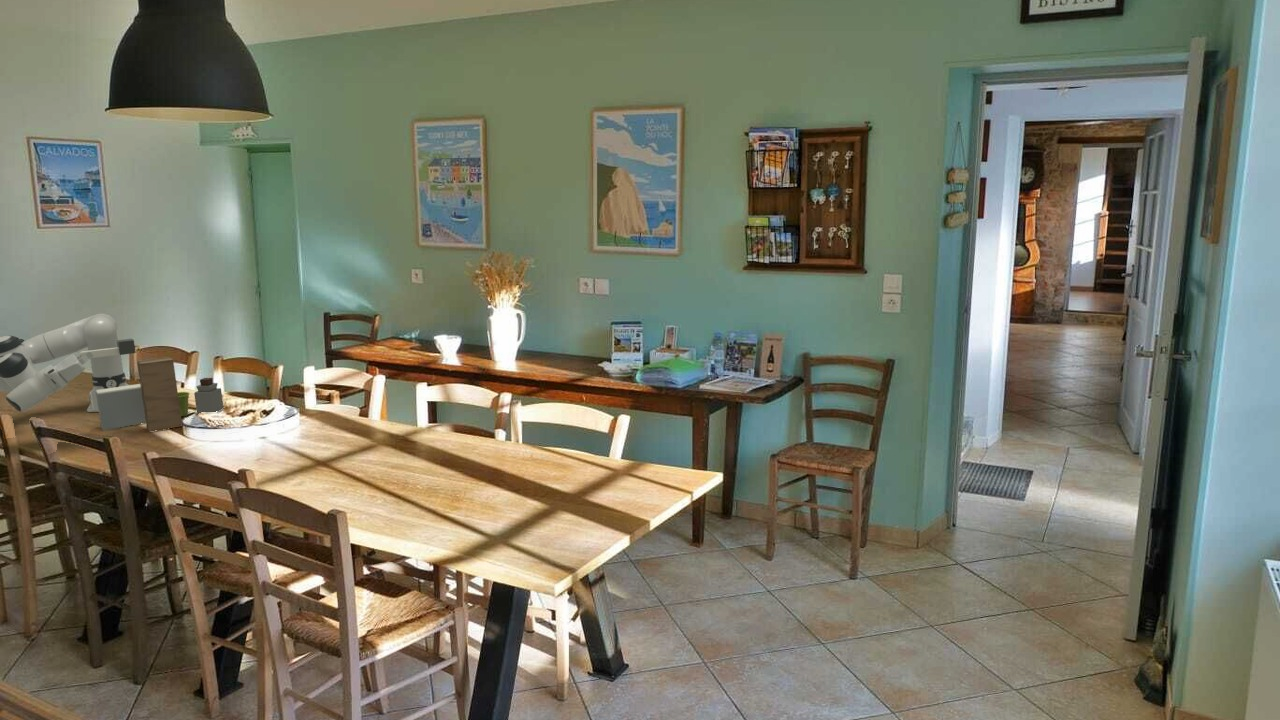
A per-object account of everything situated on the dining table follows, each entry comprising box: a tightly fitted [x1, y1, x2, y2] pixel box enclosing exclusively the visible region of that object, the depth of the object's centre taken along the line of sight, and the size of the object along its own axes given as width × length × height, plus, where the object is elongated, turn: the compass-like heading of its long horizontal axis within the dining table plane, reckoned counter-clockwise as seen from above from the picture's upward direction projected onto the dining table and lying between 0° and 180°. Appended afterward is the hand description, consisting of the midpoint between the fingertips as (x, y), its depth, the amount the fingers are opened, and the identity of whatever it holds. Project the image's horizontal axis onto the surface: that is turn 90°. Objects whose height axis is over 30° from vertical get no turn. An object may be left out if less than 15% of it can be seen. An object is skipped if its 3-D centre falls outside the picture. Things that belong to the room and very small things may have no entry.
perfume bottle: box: [193, 377, 224, 416], centre depth 349 cm, size 7×7×18 cm
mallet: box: [79, 338, 136, 358], centre depth 335 cm, size 17×5×5 cm, turn 126°
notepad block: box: [96, 383, 146, 432], centre depth 354 cm, size 7×16×14 cm, turn 126°
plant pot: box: [178, 391, 191, 417], centre depth 366 cm, size 9×9×9 cm
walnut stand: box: [136, 356, 183, 432], centre depth 347 cm, size 8×11×26 cm
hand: (91, 353), depth 332 cm, fingers closed on mallet, 2 cm apart
